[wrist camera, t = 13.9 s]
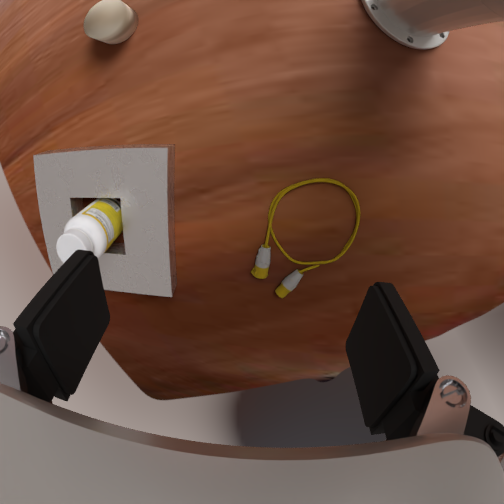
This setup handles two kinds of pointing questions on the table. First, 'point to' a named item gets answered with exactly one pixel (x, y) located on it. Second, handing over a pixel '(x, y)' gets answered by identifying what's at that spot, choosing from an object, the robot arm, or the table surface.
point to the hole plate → (132, 208)
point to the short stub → (110, 21)
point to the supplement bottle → (91, 229)
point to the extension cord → (264, 252)
